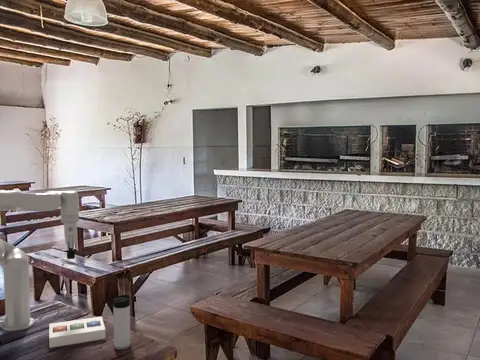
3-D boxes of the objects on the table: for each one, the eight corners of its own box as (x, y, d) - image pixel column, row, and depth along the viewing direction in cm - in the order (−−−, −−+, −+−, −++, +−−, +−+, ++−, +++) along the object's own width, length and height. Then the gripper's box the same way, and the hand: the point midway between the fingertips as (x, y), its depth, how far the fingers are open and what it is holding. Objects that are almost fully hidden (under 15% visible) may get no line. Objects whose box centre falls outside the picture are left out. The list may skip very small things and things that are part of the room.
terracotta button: (54, 340, 176) (53, 331, 175) (54, 335, 180) (53, 326, 179) (66, 338, 177) (66, 329, 177) (66, 334, 182) (65, 324, 181)
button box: (49, 347, 171) (49, 337, 170) (49, 333, 184) (49, 323, 183) (105, 338, 179) (105, 329, 179) (101, 325, 192) (101, 316, 191)
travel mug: (134, 345, 174) (133, 296, 172) (121, 351, 168) (120, 301, 167) (123, 340, 177) (123, 292, 175) (110, 347, 172) (109, 297, 170)
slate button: (88, 335, 181) (88, 326, 180) (87, 330, 185) (87, 321, 185) (100, 333, 183) (99, 324, 182) (98, 329, 187) (98, 320, 186)
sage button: (71, 338, 178) (71, 328, 178) (71, 333, 182) (70, 324, 182) (83, 336, 180) (83, 326, 180) (82, 331, 184) (82, 322, 184)
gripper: (79, 220, 191) (80, 262, 193) (77, 215, 205) (78, 253, 207) (61, 222, 188) (62, 263, 190) (60, 216, 202) (61, 255, 204)
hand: (70, 258), depth 198 cm, fingers closed
